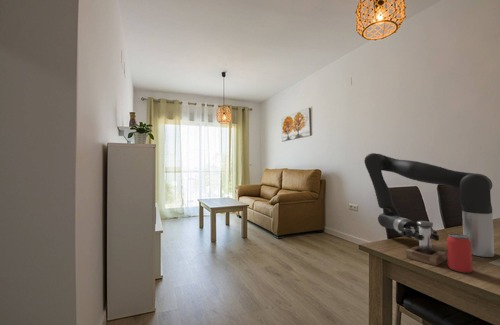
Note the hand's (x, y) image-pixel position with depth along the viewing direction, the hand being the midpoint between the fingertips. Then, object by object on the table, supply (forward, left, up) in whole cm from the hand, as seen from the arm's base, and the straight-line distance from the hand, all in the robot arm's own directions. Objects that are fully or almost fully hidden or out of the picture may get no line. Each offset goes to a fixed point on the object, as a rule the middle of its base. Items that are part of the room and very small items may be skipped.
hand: (429, 237), depth 93 cm
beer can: (0, +9, -9) cm, 13 cm away
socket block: (-2, -2, -9) cm, 9 cm away
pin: (-2, -2, -9) cm, 9 cm away
